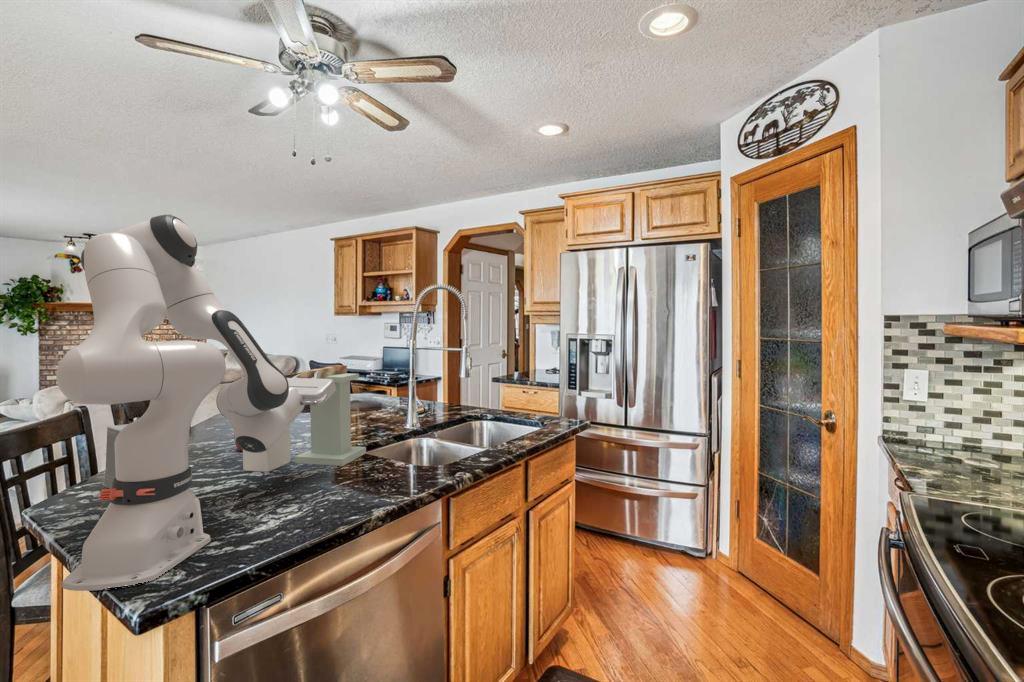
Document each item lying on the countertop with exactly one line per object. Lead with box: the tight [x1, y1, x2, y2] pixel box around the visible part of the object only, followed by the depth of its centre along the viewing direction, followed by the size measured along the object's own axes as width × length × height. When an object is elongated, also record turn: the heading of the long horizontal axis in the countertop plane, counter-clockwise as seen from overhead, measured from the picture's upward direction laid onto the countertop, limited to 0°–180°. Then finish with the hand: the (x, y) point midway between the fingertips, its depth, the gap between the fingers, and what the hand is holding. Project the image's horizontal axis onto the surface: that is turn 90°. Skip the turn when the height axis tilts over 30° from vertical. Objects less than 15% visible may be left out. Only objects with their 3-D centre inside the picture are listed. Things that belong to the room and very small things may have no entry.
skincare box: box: [104, 423, 129, 489], centre depth 125 cm, size 8×7×16 cm
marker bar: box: [298, 364, 348, 378], centre depth 146 cm, size 20×4×2 cm, turn 169°
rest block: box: [242, 424, 292, 473], centre depth 142 cm, size 10×8×18 cm
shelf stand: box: [293, 372, 367, 467], centre depth 150 cm, size 14×16×26 cm
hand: (312, 372), depth 140 cm, fingers closed on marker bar, 2 cm apart
